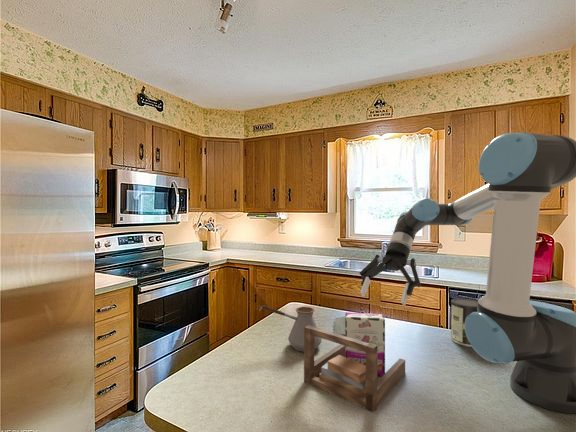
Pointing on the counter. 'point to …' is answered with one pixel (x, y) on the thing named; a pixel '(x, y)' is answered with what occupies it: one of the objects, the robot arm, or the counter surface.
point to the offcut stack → (345, 374)
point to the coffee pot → (299, 326)
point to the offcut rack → (312, 369)
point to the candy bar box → (366, 336)
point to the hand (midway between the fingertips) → (381, 298)
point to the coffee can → (461, 319)
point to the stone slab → (339, 326)
